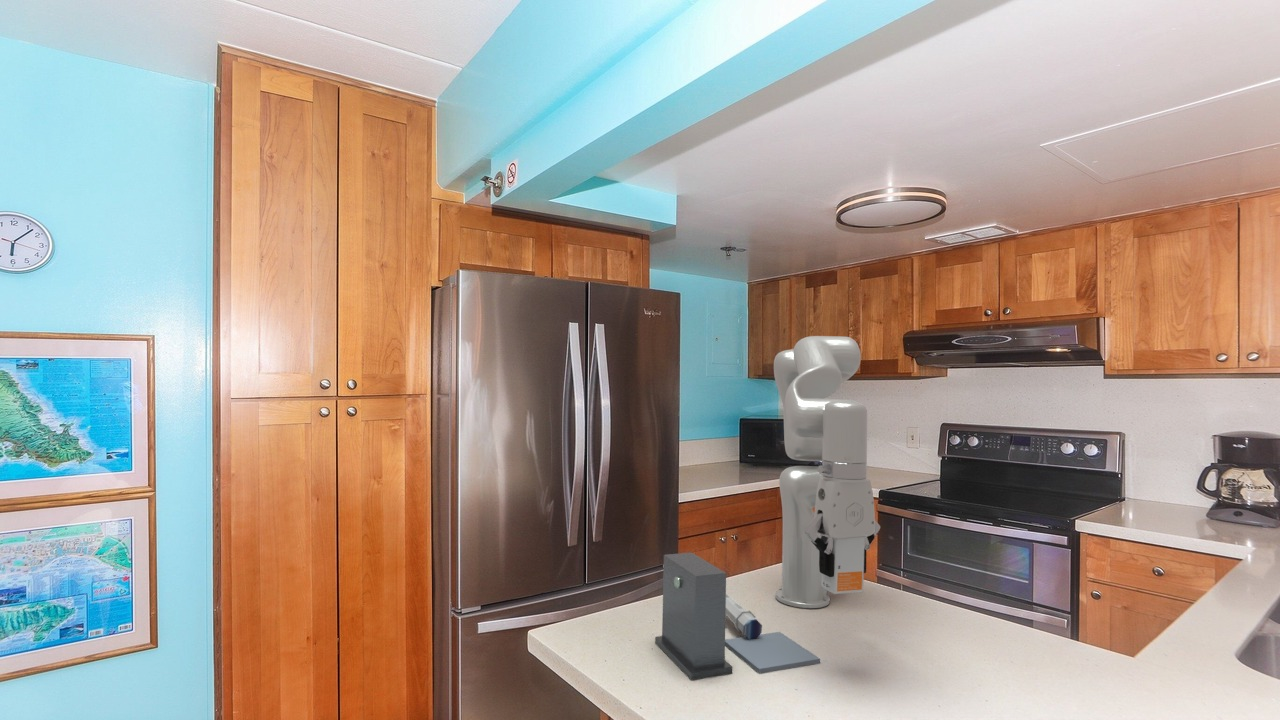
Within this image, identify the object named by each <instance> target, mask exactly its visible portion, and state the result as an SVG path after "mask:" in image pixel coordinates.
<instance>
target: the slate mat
mask: <svg viewBox="0 0 1280 720" xmlns="http://www.w3.org/2000/svg"><path fill="white" fill-rule="evenodd" d="M725 648H728V650H729V651H731V652H732V653H733V654H735V656H737V657H738V658H739V659H741V660H742V661H743V662H744V663H746V664H747V665H748V666H749V667H750V668H752V669H753V670H754V671H755V672H757V673H758V674H764V673H765V674H766V673H770V672H777V671H782V670H788V669H794V668H800V667H804V666H805V667H806V666H810V665H817V664H821V658H820V657H819V656H817V655H816V654H814V653H812V652H811V651H809V650H808V649H807V648H805V647H803V646H802V645H801V644H799V643H797V642H796V641H795V640H793V639H791V638H789V637H788V636H787V635H785V634H784V633H782V632H781V631H776V632H770V633H768V632H767V633H761V634H760V635H759V636H758V637H757V639H750V640H749V639H748V638H747V637H746V636H740V637H733V638H727V639H726V638H725Z"/></svg>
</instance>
